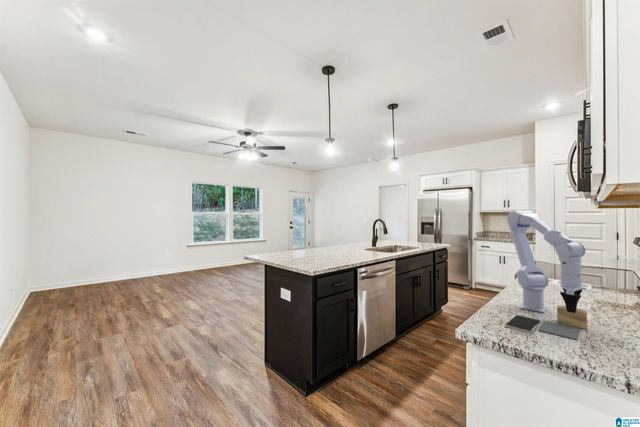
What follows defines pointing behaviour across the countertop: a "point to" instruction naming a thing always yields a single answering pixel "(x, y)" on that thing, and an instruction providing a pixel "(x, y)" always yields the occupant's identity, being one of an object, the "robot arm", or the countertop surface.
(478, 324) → the countertop surface
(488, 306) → the countertop surface
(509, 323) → the smartphone
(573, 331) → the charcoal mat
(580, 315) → the oak slab
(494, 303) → the countertop surface
